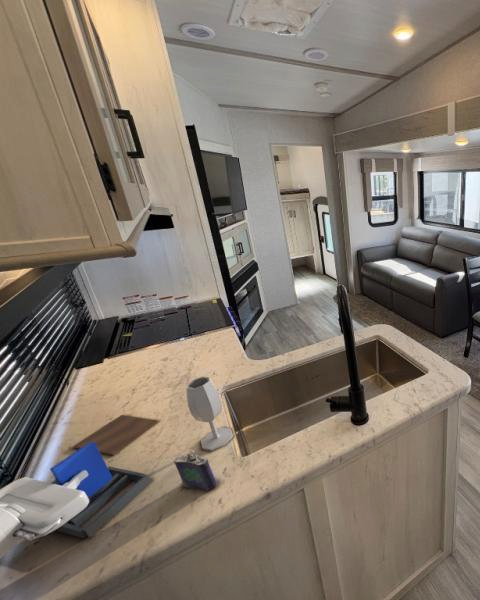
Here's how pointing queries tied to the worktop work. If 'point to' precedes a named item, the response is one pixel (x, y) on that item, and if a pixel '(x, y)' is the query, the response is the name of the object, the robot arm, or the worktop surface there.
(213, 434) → the wineglass
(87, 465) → the lid
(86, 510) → the rack
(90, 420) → the worktop surface
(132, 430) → the board
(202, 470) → the flask
